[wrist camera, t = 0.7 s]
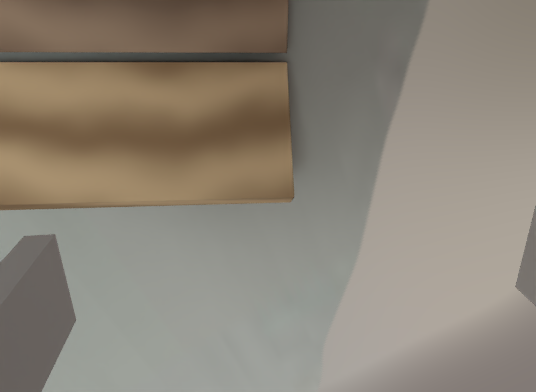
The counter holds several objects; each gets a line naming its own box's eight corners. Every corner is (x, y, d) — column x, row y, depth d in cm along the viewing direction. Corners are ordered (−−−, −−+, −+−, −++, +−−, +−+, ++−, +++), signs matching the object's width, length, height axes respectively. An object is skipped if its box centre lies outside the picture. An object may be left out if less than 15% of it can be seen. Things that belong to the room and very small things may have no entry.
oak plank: (-45, 75, 31) (-63, 62, 29) (283, 75, 33) (286, 62, 31) (-59, 211, 29) (-80, 206, 27) (290, 202, 31) (294, 196, 29)
